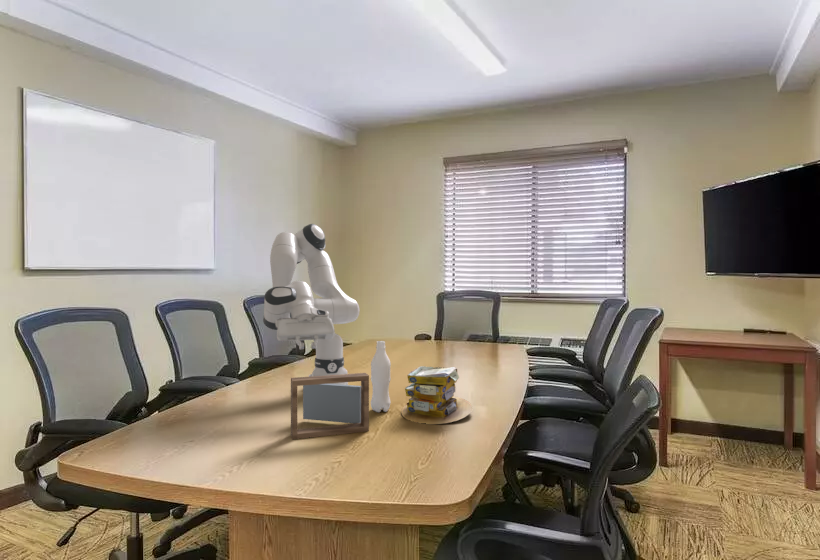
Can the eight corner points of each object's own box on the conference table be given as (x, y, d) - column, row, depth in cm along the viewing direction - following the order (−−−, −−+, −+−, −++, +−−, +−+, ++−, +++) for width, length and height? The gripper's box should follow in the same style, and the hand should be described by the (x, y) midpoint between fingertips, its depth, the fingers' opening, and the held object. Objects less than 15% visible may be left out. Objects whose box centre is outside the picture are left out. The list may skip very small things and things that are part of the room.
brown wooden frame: (290, 434, 155) (290, 377, 154) (365, 426, 163) (365, 372, 162) (292, 439, 150) (292, 380, 150) (368, 430, 159) (368, 375, 158)
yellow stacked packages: (442, 430, 160) (442, 377, 160) (387, 414, 177) (387, 367, 176) (485, 413, 179) (485, 367, 178) (431, 401, 195) (432, 358, 195)
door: (305, 417, 169) (305, 382, 169) (361, 422, 164) (361, 386, 164) (303, 419, 168) (303, 383, 167) (359, 424, 162) (359, 387, 162)
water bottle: (393, 408, 184) (393, 340, 183) (386, 414, 177) (386, 343, 177) (375, 406, 186) (375, 339, 186) (367, 412, 179) (367, 342, 179)
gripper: (275, 312, 179) (278, 344, 170) (332, 311, 186) (337, 341, 177) (274, 324, 183) (276, 355, 174) (330, 322, 190) (335, 351, 181)
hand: (308, 348), depth 176 cm, fingers open, 3 cm apart
